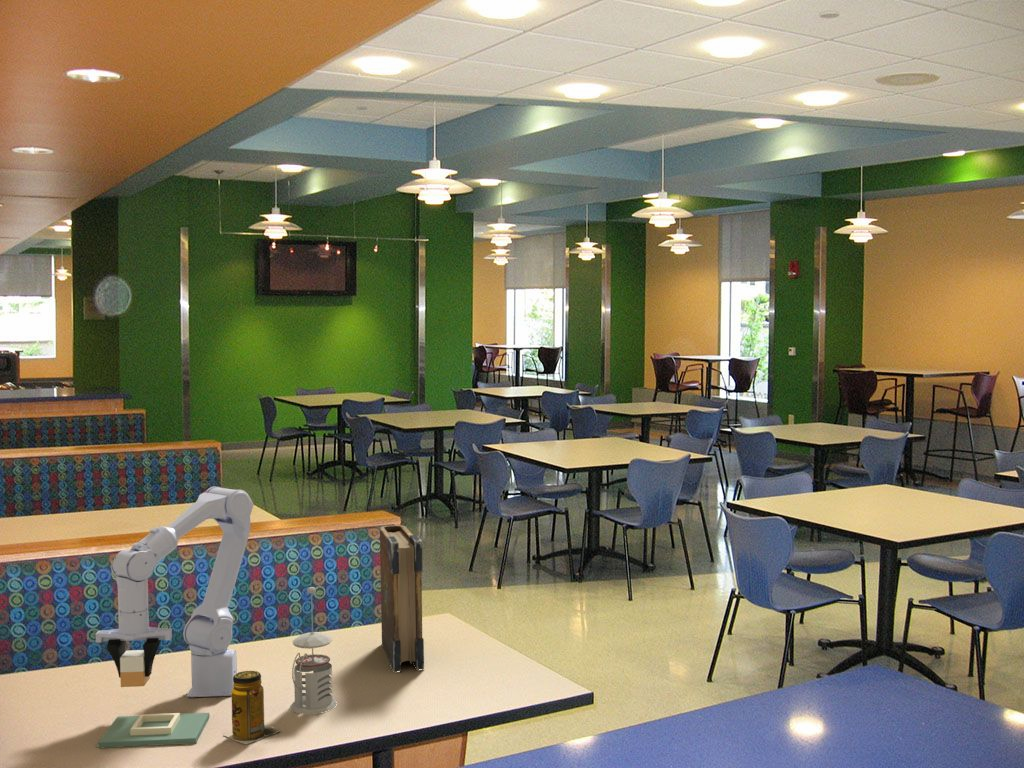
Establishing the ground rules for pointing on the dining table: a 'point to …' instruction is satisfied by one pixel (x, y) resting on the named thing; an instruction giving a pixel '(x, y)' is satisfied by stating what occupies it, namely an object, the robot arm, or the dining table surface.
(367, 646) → the dining table surface
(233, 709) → the condiment
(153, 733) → the base plate
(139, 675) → the brick stack
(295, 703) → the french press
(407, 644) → the decorative book
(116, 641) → the robot arm
